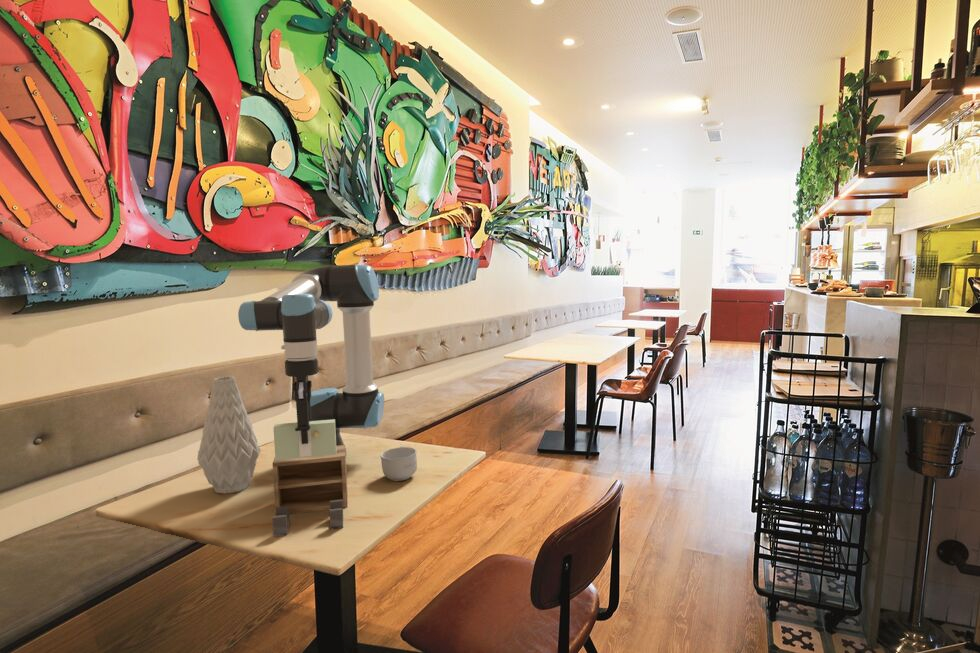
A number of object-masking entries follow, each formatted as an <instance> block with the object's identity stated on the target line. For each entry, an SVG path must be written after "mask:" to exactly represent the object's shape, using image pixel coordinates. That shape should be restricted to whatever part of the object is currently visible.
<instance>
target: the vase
mask: <svg viewBox="0 0 980 653" xmlns="http://www.w3.org/2000/svg"><path fill="white" fill-rule="evenodd" d="M210 391H211V392H210V396H209V397H210V398H209V402H208V403H209V404H208V408H207V410H206V411H207V412H206V415H205V420H204V425H203V429H202V435H201V436H202V438H201V440H200V444H199V450H198V451H197V461H198V462H197V463H198V465H199V466H200V468H201V469H202V470H203V474H204V477H205V479H206V480H207V482H208V484H210V485H211V486H212V488H213V491H214V492H215V493H218V494H221V495H222V494H223V495H224V494H226V495H227V494H232V493H238V492H240V491H243V490H245V489H247V488H248V487H249V484H250V481H251V478H253V476H254V473H255V469H256V466H257V460H258V458H259V454H260V453H261V448H260V447H259V443H258V439H257V437H256V435H255V432H254V429H253V425H252V423H251V420H250V418H249V415H248V412H247V409H246V406H245V405H244V402H243V399H242V394H241V392H240V390H239V386H238V383H237V381H236V377H235V376H222V377H221V376H219V377H214V378H213V379H212V387H211V390H210Z"/></svg>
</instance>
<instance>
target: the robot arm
mask: <svg viewBox="0 0 980 653" xmlns="http://www.w3.org/2000/svg"><path fill="white" fill-rule="evenodd" d="M379 295H380V288H379V282H378V278H377V275H376V272H375V270H374V269H373V267H372V266H370V265H369V264H367V265H366V264H357V263H356V264H344V265H343V264H340V265H339V264H338V265H337V264H336V265H322V266H317V267H315V268H314V267H313V268H311V269H309V270H307V271H304V272H301V273H300V274H298V275H296V276H295V277H294V278H293V279H292V281H291V283H289V284H287V285H286V286H284V287H282V288H280V289H278V290H276V291H275V292H274V293H271V294H270V295H269V296H266V297H265V298H263V299H261V300H257V301H256V300H251V301H244V302H242V303H241V304H240V306H239V308H238V313H237V314H238V316H237V317H238V323H239V325H240V327H241V328H242V329H243V330H245V331H255V332H259V331H260V332H261V331H262V332H263V331H282V334H283V335H282V336H283V345H281V346H280V348H281V350H284V351H283V352H284V358H285V359H286V360H284V373H285V376H287V377H291V378H293V377H295V378H296V379H295V381H294V383H293V384H292V385H293V388H292V389H293V391H294V402H295V407H296V408H295V409H296V422H297V424H298V427H297V428H295V431H298V433H299V450H300V457H305V456H312V448H311V430H310V426H309V421H320V420H332V419H335V430H336V446H338V445H345V443H344V440H343V439H342V436H341V431H340V430H341V429H368V428H369V429H370V428H376V427H378V426H379V425H380V423H381V420H382V417H383V414H384V409H385V408H384V407H385V394H384V393H383V392H381V391H379V387H378V385H377V383H375V382H374V372H373V371H374V370H373V369H374V368H373V356H372V355H373V353H372V335H371V334H372V333H371V332H372V331H371V317H370V316H371V314H370V312H371V310H372V309H373V308H374V307H375V304H374V303H375V301H378V300H379ZM328 302H336V306H337V309H339V311H340V312H341V313H342V325H343V328H342V329H343V342H344V345H343V346H344V359H345V375H346V384H345V386H344V387H343V388H342V390H341V391H342V393H341V392H339V390H338V388H336V387H328V388H321V389H318V390H313V391H312V386H313V384H312V380H310V379H309V376H315V375H317V374H318V373H319V361H318V358H317V356H318V353H319V352H318V339H317V330H321V329H322V328H324V327H326V326H327V325H329V324H330V322H331V321H332V319H333V309H332V306H331V305H330V304H329V303H328ZM345 451H346V452H347V449H346V447H345Z"/></svg>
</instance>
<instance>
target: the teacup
mask: <svg viewBox="0 0 980 653" xmlns="http://www.w3.org/2000/svg"><path fill="white" fill-rule="evenodd" d="M417 459H418V458H417V449H416V448H414V447H411V446H410V447H409V446H408V447H407V446H405V445H400V446H399V447H394V448H390V449H386V450H384V451H383V452H382V453H381V454H380V461H381V468H382V474H383V475H384V476H385V477H386V478H387V479H389V480H391V481H392V482H393V481H394V482H399V481H400V482H402V481H405V480H406V481H407V480H409V479H410V478H411V477H412V476H413V475H415V473H416V471H417V469H418V460H417Z"/></svg>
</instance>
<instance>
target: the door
mask: <svg viewBox="0 0 980 653" xmlns="http://www.w3.org/2000/svg"><path fill="white" fill-rule="evenodd" d="M309 426H310V430H311V448H312V456H305V457H314V456H324V455H335V454H336V451H337V450H336V430H335V419H332V420H320V421H309ZM297 427H298V424H297V421H295V422H286V423H275V424H274V425H273V441H274V442H273V443H274V456H275V457H274V458H275V460H283V459H294V458H304V457H300V450H299V433H298V431H295V428H297Z"/></svg>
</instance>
